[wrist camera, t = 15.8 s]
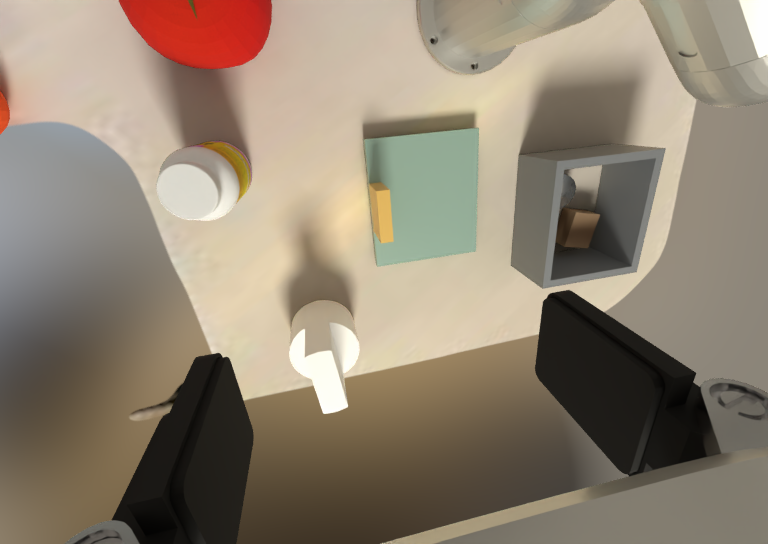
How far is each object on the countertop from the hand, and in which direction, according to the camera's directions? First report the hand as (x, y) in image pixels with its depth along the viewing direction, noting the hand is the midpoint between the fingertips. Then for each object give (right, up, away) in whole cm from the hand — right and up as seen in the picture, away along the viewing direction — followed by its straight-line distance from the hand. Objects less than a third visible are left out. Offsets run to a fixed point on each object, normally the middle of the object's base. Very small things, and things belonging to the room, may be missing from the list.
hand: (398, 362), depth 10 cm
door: (+4, +13, +36) cm, 39 cm away
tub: (+25, +12, +41) cm, 49 cm away
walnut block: (+27, +10, +42) cm, 51 cm away
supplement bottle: (-19, +14, +30) cm, 38 cm away
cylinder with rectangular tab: (-9, -5, +41) cm, 42 cm away
